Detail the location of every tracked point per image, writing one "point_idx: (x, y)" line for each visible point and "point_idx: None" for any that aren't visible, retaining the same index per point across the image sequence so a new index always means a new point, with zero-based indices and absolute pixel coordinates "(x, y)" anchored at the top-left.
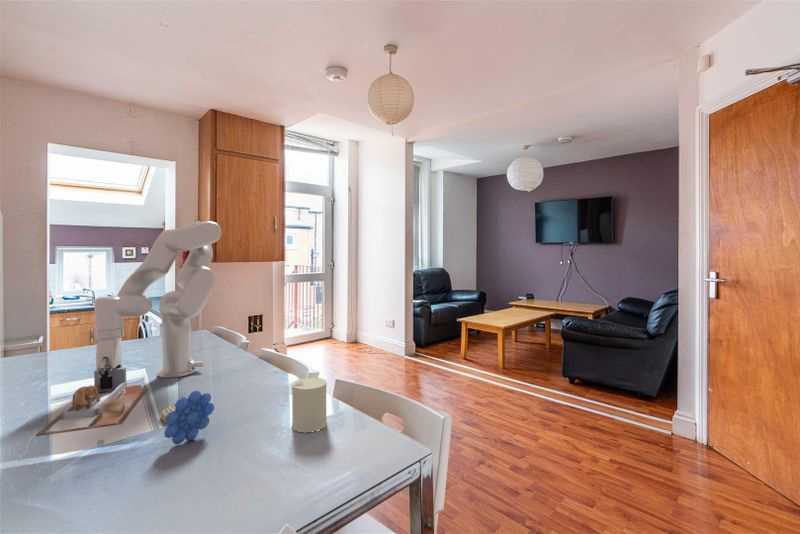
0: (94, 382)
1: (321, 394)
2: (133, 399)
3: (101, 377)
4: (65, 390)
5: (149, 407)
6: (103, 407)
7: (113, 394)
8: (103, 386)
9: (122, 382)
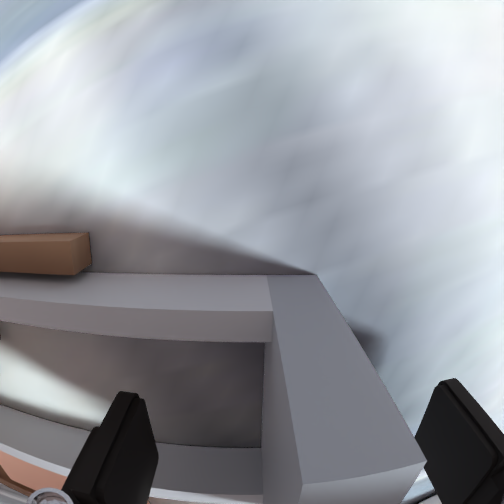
0: (278, 328)
1: None
2: (28, 484)
3: (47, 500)
4: (430, 3)
5: (9, 489)
6: None
7: (13, 452)
8: (95, 433)
9: (252, 497)
